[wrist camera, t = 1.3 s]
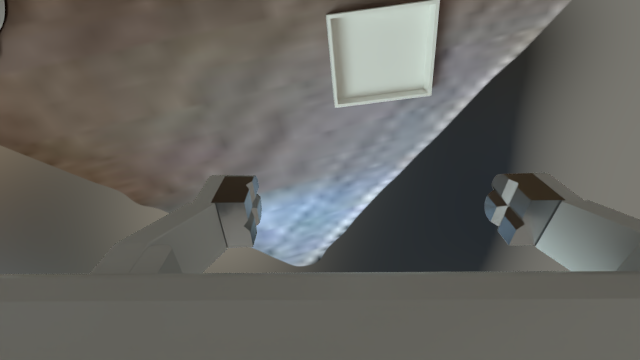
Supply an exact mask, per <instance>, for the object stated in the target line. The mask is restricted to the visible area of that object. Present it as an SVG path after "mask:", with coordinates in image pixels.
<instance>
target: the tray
mask: <svg viewBox="0 0 640 360" xmlns="http://www.w3.org/2000/svg"><path fill="white" fill-rule="evenodd" d="M439 5H440V0H425V1H418V2H411V3H403V4H396V5H389V6H382V7H375V8H368V9H361V10H354V11H347V12H340V13H333V14H326V23H327V33H328V44H329V54H330V65H331V75H332V86H333V96H334V104H335V108H337V107H345V106H353V105H361V104H369V103H377V102H385V101H393V100H401V99H409V98H416V97H424V96H431V92H432V81H433V70H434V59H435V49H436V38H437V27H438V16H439Z"/></svg>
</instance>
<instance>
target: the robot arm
mask: <svg viewBox="0 0 640 360" xmlns="http://www.w3.org/2000/svg"><path fill="white" fill-rule="evenodd" d="M4 17H5V4H4V0H0V29H1V27H2V25H3V22H4ZM492 187H493V189H494V190H493V191H492V192H491V193H490V194H488V195H487V198H486V201H485V213H486V215H487V217H488V219H489V220H490V221H491V222H492V223H494V224H496V225H497V226H499V228H498V232H499V233H500V234H501V236H502V237H503V238H504V240H505V241H506V242H507V244H508V245H520V246H521V245H522V246H536V248H538V249H539V250H541V251H542V252H544V253H545V254H547V255H548V256H550V257H551V258H553V259H554V260H556V261H557V262H559V263H560V264H562V265H563V266H564V267H566V268H567V269H569V270H570V271H542V272H541V271H529V272H528V271H527V272H347V273H345V272H344V273H343V272H340V273H203V272H204V271H205V270H206V269H207V268H208V267H209V266H210V265H211V264H212V263H213V262H214V261H215V260H216V259H217V258H218V257H219V256H220V255H221V254H222V253H223V252H225V250H227V248H233V247H253V245H254V241H255V238H256V234H257V229H256V226H257V225H258V224H259V223H260V219H261V211H262V206H261V197H260V196H259V195H258V194H257V191H258V188H259V185H258V179H257V177H256V176H245V175H227V176H226V175H212V176H210V177H209V178H208V180H207V181H206V183H205V185H204V186H203V188H202V189H201V191H200V193H199V194H198V196H197V197H196V199H195V201H194V202H193V203H188V204H186V205H184V206H182V207H181V208H179V209H177V210H175V211H173V212H172V213H170V214H168V215H166V216H164V217H163V218H161V219H159V220H157V221H155V222H153V223H152V224H150V225H148V226H146V227H144V228H143V229H141V230H139V231H137V232H135V233H134V234H132V235H130V236H128V237H126V238H125V239H123V240H121V241H119V242H117V243H115V244H114V245H113V247H112V248H111V249H110V250H109V251H108V253H107V254H106V255H105V256H104V257H103V259H102V260H101V261H100V262H99V263H98V265H97V266H96V267H95V268H94V269H93V270H92V272H91V273H90V274H0V360H640V219H637V218H634V217H632V216H629V215H627V214H624V213H621V212H618V211H616V210H613V209H611V208H608V207H605V206H603V205H600V204H597V203H595V202H592V201H589V200H583V199H582V198H580V197H579V196H578V195H576V194H575V193H574V192H572V191H571V190H570V189H568V188H567V187H566V186H565V185H563V184H562V183H561V182H559V181H558V180H556V179H555V178H554V177H553V176H551V175H550V174H547V173H523V174H498V175H497V176H496V177H495V178H494V180H493V182H492Z"/></svg>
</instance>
